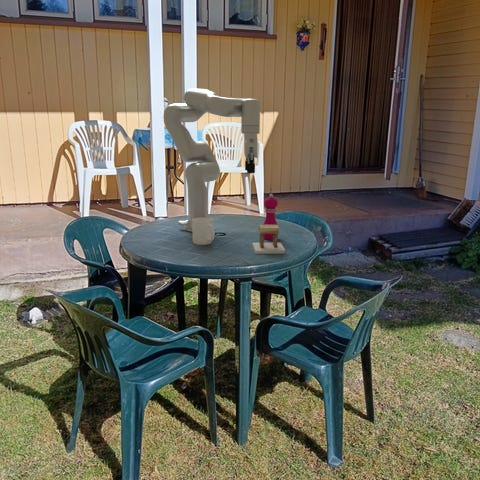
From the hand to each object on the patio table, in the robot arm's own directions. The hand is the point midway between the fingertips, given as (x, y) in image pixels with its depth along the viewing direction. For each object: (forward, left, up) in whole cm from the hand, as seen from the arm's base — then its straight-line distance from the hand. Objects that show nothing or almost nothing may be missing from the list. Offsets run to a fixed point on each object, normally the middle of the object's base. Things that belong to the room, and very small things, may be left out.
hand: (249, 171), depth 207 cm
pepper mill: (+10, +5, -31) cm, 32 cm away
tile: (+7, -13, -30) cm, 34 cm away
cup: (-19, -3, -31) cm, 36 cm away
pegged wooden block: (+7, -13, -29) cm, 33 cm away
